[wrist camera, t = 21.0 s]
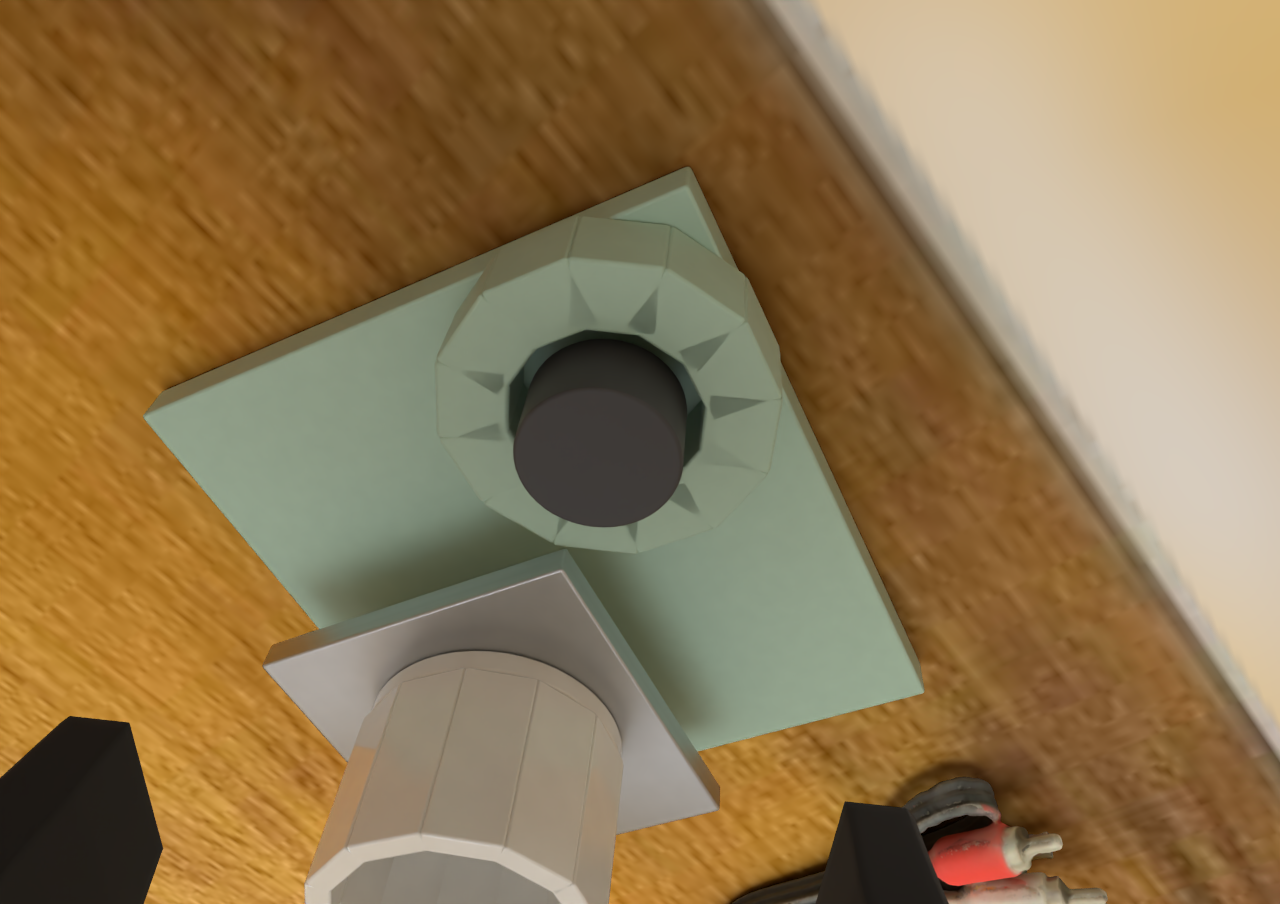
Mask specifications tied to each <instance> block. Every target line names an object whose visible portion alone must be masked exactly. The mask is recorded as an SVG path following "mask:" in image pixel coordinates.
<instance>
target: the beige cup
mask: <svg viewBox="0 0 1280 904" xmlns="http://www.w3.org/2000/svg"><path fill="white" fill-rule="evenodd" d="M622 754H623V751H622V741H621V737H620V733H619V730H618V727H617V725H616V723H615V721H614V719H613V717H612V715H611V714H610V712H609V711H608V709H607V708H606V706H605V705H604V704H603V703H602V702H601V701H600V700H599V698H598V697H597V696H596V695H595V694H594V693H592V692H591V691H590V690H589V689H588V688H587V687H586V686H584V685H583V684H582V683H580V682H579V681H577V680H576V679H574V678H573V677H571V676H569V675H568V674H566V673H564V672H562V671H560V670H558V669H557V668H554V667H552V666H549V665H547V664H545V663H542V662H539V661H536V660H533V659H530V658H527V657H523V656H518V655H514V654H509V653H502V652H494V651H460V652H452V653H446V654H441V655H437V656H433V657H430V658H427V659H424V660H421V661H419V662H417V663H414V664H412V665H410V666H409V667H407V668H405V669H404V670H402V671H400V672H399V673H398V674H396V675H395V676H394V677H393V678H392V679H391V680H389V681H388V682H387V683H386V685H385V686H384V687H383V688H382V689H381V690H380V692H379V694H378V695H377V697H376V699H375V701H374V703H373V706H372V709H371V712H370V713H369V714H368V715H367V716H366V717H365V718H364V720H363V722H362V725H361V728H360V730H359V733H358V736H357V739H356V741H355V744H354V747H353V750H352V753H351V755H350V758H349V761H348V764H347V767H346V769H345V772H344V775H343V778H342V780H341V783H340V786H339V789H338V792H337V794H336V797H335V800H334V803H333V805H332V808H331V811H330V814H329V817H328V819H327V822H326V825H325V828H324V831H323V833H322V836H321V839H320V842H319V844H318V847H317V850H316V853H315V856H314V858H313V861H312V864H311V867H310V870H309V872H308V875H307V878H306V881H305V883H304V887H305V904H609V896H610V886H611V877H612V868H613V858H614V849H615V840H616V830H617V821H618V812H619V802H620V793H621V784H622V775H623V765H624V764H623V759H622Z"/></svg>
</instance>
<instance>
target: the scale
mask: <svg viewBox="0 0 1280 904" xmlns="http://www.w3.org/2000/svg"><path fill="white" fill-rule="evenodd" d="M590 339H615V340H621V341H626V342H629V343H633V344H635V345H638V346H640V347H642V348H644V349H646V350H648V351H650V352H652V353H653V354H654V355H656V356H657V357H659V358H660V359H661V360H662V361H663V362H664V363H665V364H666V365H668V366H669V368H670V369H671V370H672V371H673V373H674V374H675V375H676V377H677V378H678V380H679V382H680V384H681V386H682V388H683V391H684V394H685V398H686V403H687V422H686V435H685V449H684V463H683V471H682V476H681V479H680V482H679V485H678V487H677V489H676V490H675V492H674V494H673V495H672V496H671V498H670V499H669V500H668V501H667V502H666V503H665V504H664V505H663V506H662V507H661V508H660V509H659V510H657V511H656V512H655V513H653V514H652V515H650V516H648V517H646V518H645V519H643V520H640V521H637V522H635V523H632V524H628V525H624V526H618V527H605V528H603V527H590V526H584V525H580V524H576V523H572V522H570V521H567V520H564V519H562V518H560V517H558V516H556V515H554V514H552V513H551V512H549V511H548V510H546V509H545V508H543V507H542V506H541V505H540V504H538V503H537V502H536V501H535V500H534V499H533V498H532V497H531V496H530V494H529V493H528V492H527V490H526V489H525V488H524V486H523V484H522V482H521V481H520V479H519V476H518V474H517V471H516V469H515V464H514V459H513V445H514V439H515V435H516V431H517V428H518V424H519V421H520V418H521V414H522V411H523V407H524V404H525V401H526V397H527V394H528V390H529V387H530V384H531V381H532V379H533V377H534V375H535V373H536V372H537V370H538V369H539V367H540V366H541V365H542V364H543V363H544V362H545V360H547V359H548V358H549V357H550V356H551V355H552V354H554V353H556V352H557V351H559V350H560V349H562V348H564V347H566V346H568V345H571V344H574V343H577V342H580V341H584V340H590ZM143 417H144V419H145V421H146V422H147V423H148V424H149V425H150V427H151V428H152V429H153V430H154V431H155V433H156V434H157V435H158V436H159V437H160V439H161V440H162V441H163V442H164V443H165V445H166V446H167V447H168V448H169V449H170V451H171V452H172V453H173V454H174V455H175V457H176V458H177V459H178V460H179V461H180V463H181V464H182V465H183V466H184V467H185V469H186V470H187V471H188V472H189V473H190V475H191V476H192V477H193V478H194V479H195V481H196V482H197V483H198V484H199V485H200V487H201V488H202V489H203V490H204V491H205V493H206V494H207V495H208V496H209V497H210V499H211V500H212V501H213V502H214V503H215V505H216V506H217V507H218V508H219V509H220V511H221V512H222V513H223V514H224V515H225V517H226V518H227V519H228V520H229V521H230V523H231V524H232V525H233V526H234V527H235V529H236V530H237V531H238V532H239V533H240V535H241V536H242V537H243V538H244V539H245V541H246V542H247V543H248V544H249V545H250V547H251V548H252V549H253V550H254V551H255V553H256V554H257V555H258V556H259V557H260V559H261V560H262V561H263V562H264V563H265V565H266V566H267V567H268V568H269V569H270V571H271V572H272V573H273V574H274V575H275V577H276V578H277V579H278V580H279V581H280V583H281V584H282V585H283V586H284V587H285V589H286V590H287V591H288V592H289V593H290V595H291V596H292V597H293V598H294V599H295V601H296V602H297V603H298V604H299V605H300V607H301V608H302V609H303V610H304V611H305V613H306V614H307V615H308V616H309V617H310V619H311V620H312V621H313V622H314V623H315V625H316V626H317V627H318V628H319V629H322V628H325V627H328V626H331V625H334V624H337V623H340V622H343V621H346V620H349V619H352V618H355V617H358V616H361V615H364V614H367V613H370V612H373V611H376V610H380V609H383V608H386V607H389V606H392V605H395V604H398V603H401V602H404V601H407V600H410V599H413V598H416V597H419V596H422V595H425V594H428V593H431V592H434V591H437V590H440V589H443V588H446V587H449V586H452V585H455V584H458V583H461V582H464V581H468V580H471V579H474V578H477V577H480V576H483V575H486V574H489V573H492V572H495V571H498V570H501V569H504V568H507V567H510V566H513V565H516V564H519V563H522V562H525V561H528V560H531V559H534V558H537V557H540V556H543V555H546V554H549V553H553V552H556V551H559V550H562V549H567V550H568V552H569V553H570V555H571V556H572V558H573V559H574V561H575V563H576V564H577V566H578V567H579V569H580V570H581V572H582V573H583V575H584V577H585V578H586V580H587V581H588V583H589V584H590V586H591V587H592V589H593V591H594V592H595V594H596V595H597V597H598V598H599V600H600V601H601V603H602V605H603V606H604V608H605V609H606V611H607V612H608V614H609V615H610V617H611V619H612V620H613V622H614V623H615V625H616V626H617V628H618V629H619V631H620V633H621V634H622V636H623V637H624V639H625V640H626V642H627V643H628V645H629V647H630V648H631V650H632V651H633V653H634V654H635V656H636V657H637V659H638V661H639V662H640V664H641V665H642V667H643V668H644V670H645V671H646V673H647V675H648V676H649V678H650V679H651V681H652V682H653V684H654V685H655V687H656V688H657V690H658V692H659V693H660V695H661V696H662V698H663V699H664V701H665V702H666V704H667V706H668V707H669V709H670V710H671V712H672V713H673V715H674V716H675V718H676V720H677V721H678V723H679V724H680V726H681V727H682V729H683V730H684V732H685V734H686V735H687V737H688V738H689V740H690V741H691V743H692V744H693V746H694V748H695V749H696V751H701V750H705V749H709V748H713V747H717V746H721V745H725V744H728V743H732V742H736V741H740V740H744V739H748V738H752V737H756V736H759V735H763V734H767V733H771V732H775V731H779V730H783V729H787V728H791V727H794V726H798V725H802V724H806V723H810V722H814V721H818V720H822V719H825V718H829V717H833V716H837V715H841V714H845V713H849V712H853V711H856V710H860V709H864V708H868V707H872V706H876V705H880V704H884V703H888V702H891V701H895V700H899V699H903V698H907V697H911V696H915V695H919V694H922V693H924V684H923V679H922V673H921V667H920V662H919V660H918V658H917V656H916V654H915V652H914V649H913V647H912V645H911V643H910V641H909V639H908V636H907V634H906V632H905V630H904V628H903V626H902V623H901V621H900V619H899V617H898V615H897V613H896V611H895V608H894V606H893V604H892V602H891V600H890V598H889V595H888V593H887V591H886V589H885V587H884V585H883V582H882V580H881V578H880V576H879V574H878V572H877V569H876V567H875V565H874V563H873V561H872V559H871V556H870V554H869V552H868V550H867V548H866V546H865V543H864V541H863V539H862V537H861V535H860V533H859V530H858V528H857V526H856V524H855V522H854V520H853V517H852V515H851V513H850V511H849V509H848V507H847V504H846V502H845V500H844V498H843V496H842V494H841V491H840V489H839V487H838V485H837V483H836V481H835V478H834V476H833V474H832V472H831V470H830V468H829V465H828V463H827V461H826V459H825V457H824V455H823V452H822V450H821V448H820V446H819V444H818V442H817V439H816V437H815V435H814V433H813V431H812V429H811V426H810V424H809V422H808V420H807V418H806V416H805V413H804V411H803V409H802V407H801V405H800V403H799V400H798V398H797V396H796V394H795V392H794V390H793V387H792V385H791V383H790V381H789V379H788V377H787V374H786V372H785V370H784V368H783V366H782V364H781V362H780V350H779V345H778V343H777V341H776V339H775V336H774V334H773V332H772V330H771V328H770V325H769V323H768V321H767V319H766V317H765V315H764V312H763V310H762V308H761V306H760V304H759V302H758V299H757V297H756V295H755V293H754V291H753V288H752V286H751V284H750V282H749V280H748V278H747V277H745V275H744V274H743V273H741V272H740V271H738V268H737V266H736V264H735V262H734V260H733V258H732V255H731V253H730V251H729V249H728V247H727V245H726V242H725V240H724V238H723V236H722V234H721V232H720V229H719V227H718V225H717V223H716V221H715V219H714V216H713V214H712V212H711V210H710V208H709V206H708V203H707V201H706V199H705V197H704V195H703V193H702V190H701V188H700V186H699V184H698V182H697V180H696V177H695V175H694V173H693V171H692V169H691V168H690V167H685V168H682V169H680V170H678V171H675V172H673V173H671V174H668V175H666V176H664V177H661V178H659V179H657V180H654V181H652V182H650V183H647V184H645V185H643V186H640V187H638V188H636V189H633V190H631V191H629V192H626V193H624V194H622V195H619V196H617V197H615V198H612V199H610V200H608V201H605V202H603V203H601V204H598V205H596V206H594V207H591V208H589V209H587V210H584V211H582V212H580V213H577V214H575V215H573V216H570V217H568V218H566V219H563V220H561V221H559V222H556V223H554V224H552V225H549V226H547V227H545V228H542V229H540V230H538V231H535V232H533V233H531V234H528V235H526V236H524V237H521V238H519V239H517V240H514V241H512V242H510V243H507V244H505V245H503V246H501V247H498V248H496V249H494V250H491V251H489V252H487V253H484V254H482V255H480V256H477V257H475V258H473V259H470V260H468V261H466V262H463V263H461V264H459V265H456V266H454V267H452V268H449V269H447V270H445V271H442V272H440V273H438V274H435V275H433V276H431V277H428V278H426V279H424V280H421V281H419V282H417V283H414V284H412V285H410V286H407V287H405V288H403V289H400V290H398V291H396V292H393V293H391V294H389V295H386V296H384V297H382V298H379V299H377V300H375V301H372V302H370V303H368V304H365V305H363V306H361V307H358V308H356V309H354V310H351V311H349V312H347V313H344V314H342V315H340V316H337V317H335V318H333V319H330V320H328V321H326V322H323V323H321V324H319V325H316V326H314V327H312V328H309V329H307V330H305V331H302V332H300V333H298V334H295V335H293V336H291V337H288V338H286V339H284V340H281V341H279V342H277V343H275V344H272V345H270V346H268V347H265V348H263V349H261V350H258V351H256V352H254V353H251V354H249V355H247V356H244V357H242V358H240V359H237V360H235V361H233V362H230V363H228V364H226V365H223V366H221V367H219V368H216V369H214V370H212V371H209V372H207V373H205V374H202V375H200V376H198V377H195V378H193V379H191V380H188V381H186V382H184V383H181V384H179V385H177V386H174V387H172V388H170V389H167V390H165V391H163V392H162V393H161V394H160V395H159V396H158V398H157V399H156V400H155V401H154V403H153V404H152V405H151V406H150V408H149V409H148V410H147V411H146V413H145V414H144V415H143Z"/></svg>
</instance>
